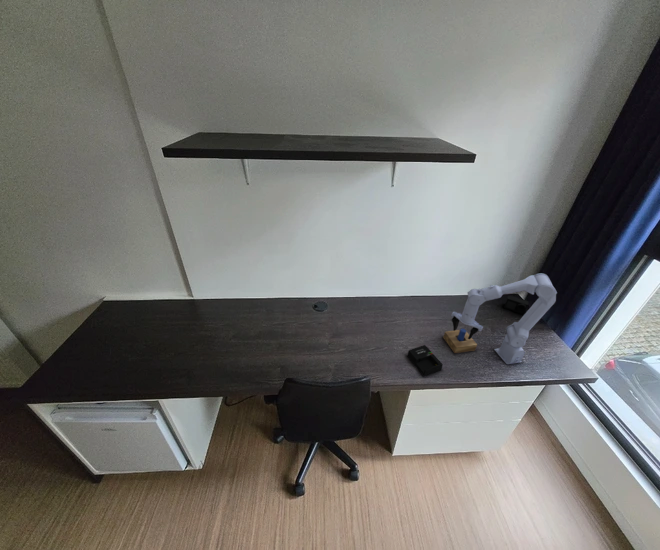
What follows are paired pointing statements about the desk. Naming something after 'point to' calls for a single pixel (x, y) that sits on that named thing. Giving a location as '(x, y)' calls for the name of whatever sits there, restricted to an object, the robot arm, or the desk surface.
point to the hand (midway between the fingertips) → (462, 333)
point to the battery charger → (424, 360)
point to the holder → (459, 342)
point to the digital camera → (516, 304)
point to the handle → (461, 335)
